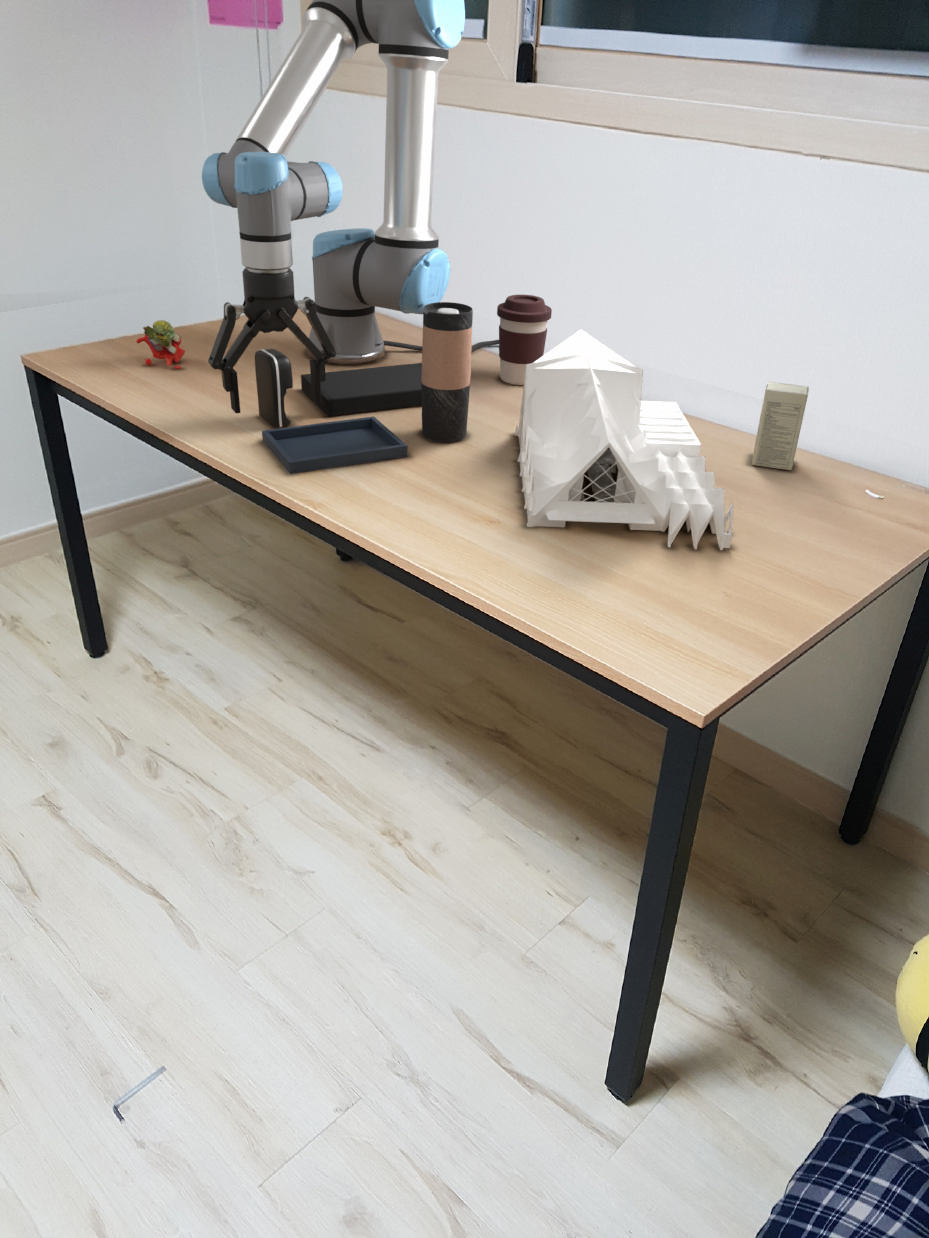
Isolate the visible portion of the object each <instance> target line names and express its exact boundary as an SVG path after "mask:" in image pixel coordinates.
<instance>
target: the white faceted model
mask: <svg viewBox="0 0 929 1238" xmlns="http://www.w3.org/2000/svg"><path fill="white" fill-rule="evenodd" d="M643 382H644V368H641V367H638V366H635V365H634V364H632V363H630V362H629V361H628V360H626V359H625V358H624V357H622V356H621V355H619V354H617V353H616V352H615V351H614V350H612V349H611V348H609V347H608V346H606V345H605V344H603V343H602V342H600V341H599V340H598V339H596V338H594V337H593V336H592V335H590V334H589V333H588V332H586V331H584V330H583V329H582V328H580V329H579V330H578V331H576V332H574V333H573V334H572V335H571V336H569V337H567V338H566V339H565V340H564V341H561V342H560V343H559V344H558V345H556V346H555V347H554V348H552V349H550V350H549V351H547V352H546V353H545V354H543V356H542V357H540V358H539V359H538V360H536V361H535V362H533V363H531V364H526V372H525V380H524V385H523V387H522V397H521V404H520V412H519V420H518V424H517V425H516V428H515V431H514V433H513V436H516V437H518V446H519V447H520V449H519V451H520V452H519V455H518V458H517V463H519V469H520V473H519V477H521V483H522V489H521V492H522V493H523V498H524V507H523V508H524V510H526V518H527V523H526V528H534V527H543V528H544V527H547V528H549V527H550V528H565V527H566V522H583V523H607V524H612V523H613V524H627V525H628V527H629V530H630V531H656V532H657V531H659V532H661V533H665V531H666V530H667V528H668V531H667V532H668V534H667V548H671V547H672V543H673V542H674V541H675V539H676V537H677V536H678V534H679V532H680V530H681V528H682V527H683V525H684V523H686V530H687V533H689V532H691V540H692V546H693V549H694V550H697V549H698V544H699V542H700V540H701V538H702V536H703V535H704V533H705V530H706V529H707V528H708V525H709V528H710V533H711V534H714V535H716V540H717V544H718V545H717V546H718V548H719V550H720V551H723V550H724V549H731V548H730V547H731V542H732V538H733V517H734V503H730V505H729V508H728V510H727V512H726V503H725V488H722V487H715V471H706V456H703V455H702V456H701V452H702V451H701V450H702V443H701V442H700V440H699V438H698V436H697V435H696V433H695V431H694V430H693V428H692V427H691V425H690V424H689V421H688V420H687V419H686V417H685V415H684V413H683V412H682V410H681V408H680V407H679V405H678V404H677V402H676V401H657V400H656V401H653V400H642V399H643ZM610 465H611V466H610ZM585 473H586V474H587V475H588V476H587V475H585ZM612 474H617V476H616V481H615V480H614V478H613V477H614V476H613V475H612ZM584 477H585V478H587V480H589V482H590V483H589V484H588V485H587V486H586V487H584V488H583V485H584ZM590 486H591V489H592V492H593V494H592V495H591V494H589V493H586V492H585V490H586V489H587V488H589V487H590ZM585 495H587V496H588V497H587V498H586V496H585ZM590 498H594V501H588V499H590ZM727 522H728V528H727ZM727 530H728V531H727Z"/></svg>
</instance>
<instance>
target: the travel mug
mask: <svg viewBox="0 0 929 1238" xmlns="http://www.w3.org/2000/svg"><path fill="white" fill-rule="evenodd" d="M473 310H474V309H473V308H472V306H470V305H467V304H464V303H460V302H450V301H440V302H437V303H430V304H427V305H425V306H424V307H423V314H422V344H421V345H422V351H421V363H422V377H421V393H422V406H421V433H422V437H423V438H425V439H426V440H428V441H431V442H434V443H441V444H443V443H444V444H449V443H457V442H460V441H463V440H464V439H465V438H466V436H467V429H468V416H469V404H470V393H471V392H470V391H471V390H470V389H471V372H472V352H471V347H472V346H473V342H472V341H473V316H474V311H473Z"/></svg>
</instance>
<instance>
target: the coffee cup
mask: <svg viewBox="0 0 929 1238" xmlns="http://www.w3.org/2000/svg"><path fill="white" fill-rule="evenodd" d="M496 308H497V309H496V315H497V316H498V318H499V325H498V340H499V344H498V357H499V378H500V379H501V380H502V381H503V382H505V383H507V384H510V385H514V386H524V380H525V372H526V364H531V363H533V362H535V361H536V360H538V359H539V358H540V357H542V356H543V355H545V354H544V352H545V347H546V342H547V341H546V340H547V333H548V328H547V326H548V321H550V319H552V312H553V309H552V308H551V306H548V305H546V302H545V300H544V298H543V297H541V296H537V295H533V294H512V295H508V296H507V297H506V299H505V300H504V302H501V303H499V304H498V305H497V307H496Z"/></svg>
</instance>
